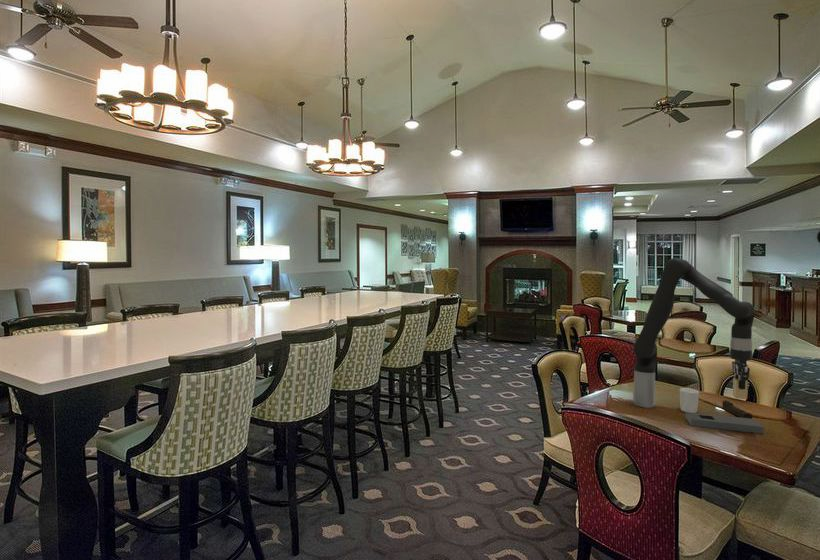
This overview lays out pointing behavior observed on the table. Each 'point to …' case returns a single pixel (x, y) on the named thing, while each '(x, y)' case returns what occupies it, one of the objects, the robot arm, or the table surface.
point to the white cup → (689, 400)
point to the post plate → (724, 422)
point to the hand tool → (735, 410)
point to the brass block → (739, 392)
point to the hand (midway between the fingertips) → (740, 387)
